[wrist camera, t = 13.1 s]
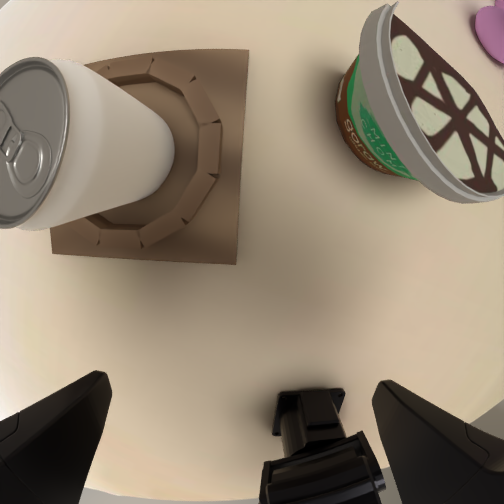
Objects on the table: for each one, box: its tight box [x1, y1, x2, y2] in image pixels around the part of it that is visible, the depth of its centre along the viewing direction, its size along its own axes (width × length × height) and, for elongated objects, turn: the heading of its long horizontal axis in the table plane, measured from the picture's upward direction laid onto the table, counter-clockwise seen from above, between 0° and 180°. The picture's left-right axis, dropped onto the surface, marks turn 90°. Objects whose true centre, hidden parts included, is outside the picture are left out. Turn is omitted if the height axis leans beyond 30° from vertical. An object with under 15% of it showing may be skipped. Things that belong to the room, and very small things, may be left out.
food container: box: [335, 1, 504, 204], centre depth 14 cm, size 12×6×10 cm, turn 55°
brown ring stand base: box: [50, 49, 249, 265], centre depth 17 cm, size 15×15×3 cm
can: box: [0, 57, 175, 231], centre depth 11 cm, size 6×6×12 cm
